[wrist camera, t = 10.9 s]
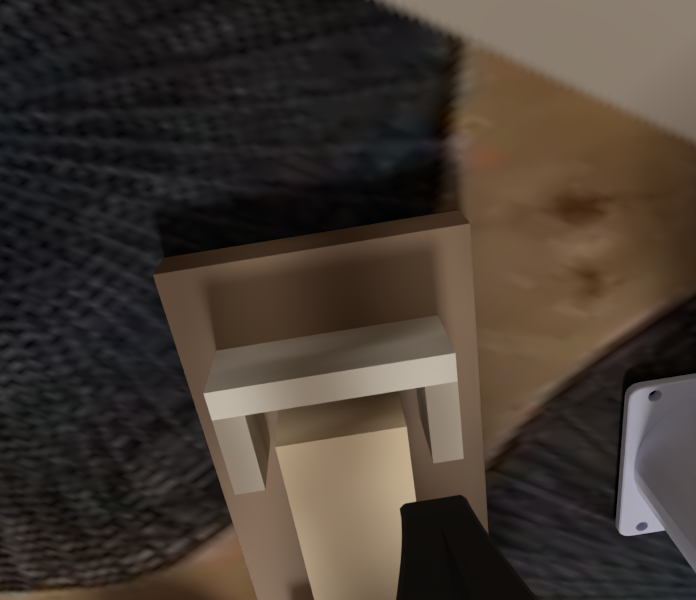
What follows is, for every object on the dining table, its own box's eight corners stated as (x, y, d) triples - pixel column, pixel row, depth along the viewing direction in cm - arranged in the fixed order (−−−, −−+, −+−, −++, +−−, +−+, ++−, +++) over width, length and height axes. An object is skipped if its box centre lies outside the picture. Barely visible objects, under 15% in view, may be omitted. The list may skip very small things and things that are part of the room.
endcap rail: (458, 209, 19) (493, 251, 15) (488, 657, 29) (514, 746, 26) (164, 258, 19) (129, 309, 15) (297, 687, 29) (295, 779, 26)
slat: (393, 372, 20) (406, 426, 17) (427, 631, 26) (441, 702, 23) (280, 390, 20) (275, 447, 17) (340, 645, 26) (344, 716, 23)
